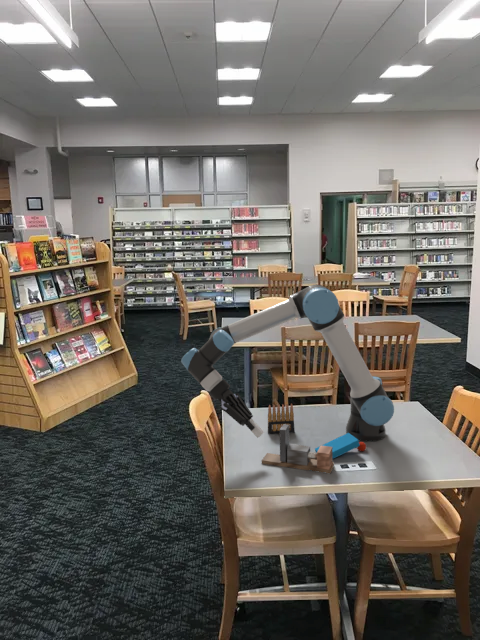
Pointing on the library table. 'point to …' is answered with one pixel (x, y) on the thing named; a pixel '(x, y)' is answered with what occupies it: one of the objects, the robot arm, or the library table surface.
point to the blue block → (344, 445)
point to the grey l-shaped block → (285, 444)
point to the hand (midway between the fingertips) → (260, 435)
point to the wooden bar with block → (303, 459)
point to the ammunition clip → (280, 419)
